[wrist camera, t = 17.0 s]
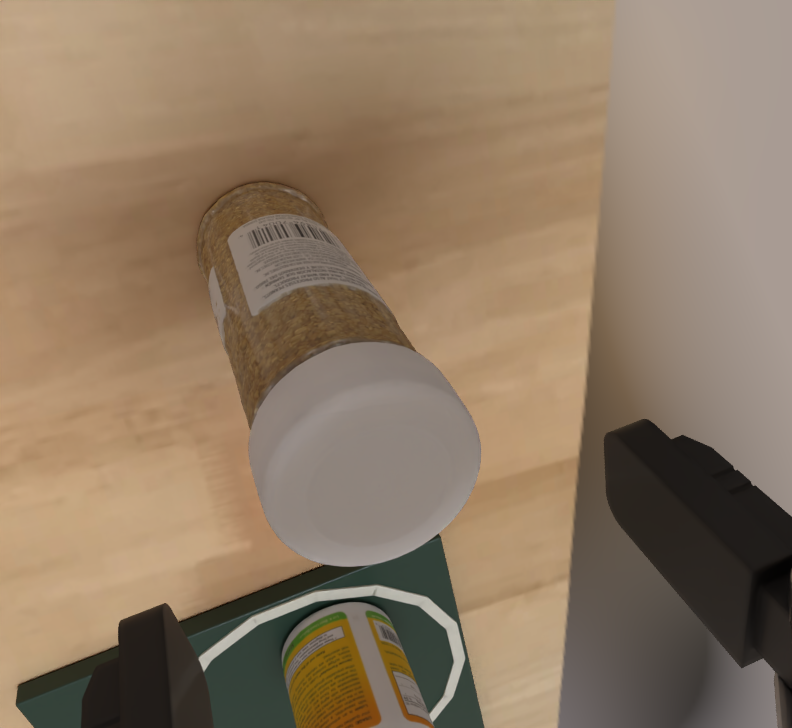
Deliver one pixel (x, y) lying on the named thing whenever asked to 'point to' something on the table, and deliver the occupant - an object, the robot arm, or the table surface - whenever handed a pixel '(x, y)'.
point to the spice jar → (330, 387)
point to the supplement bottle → (351, 672)
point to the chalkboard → (269, 629)
